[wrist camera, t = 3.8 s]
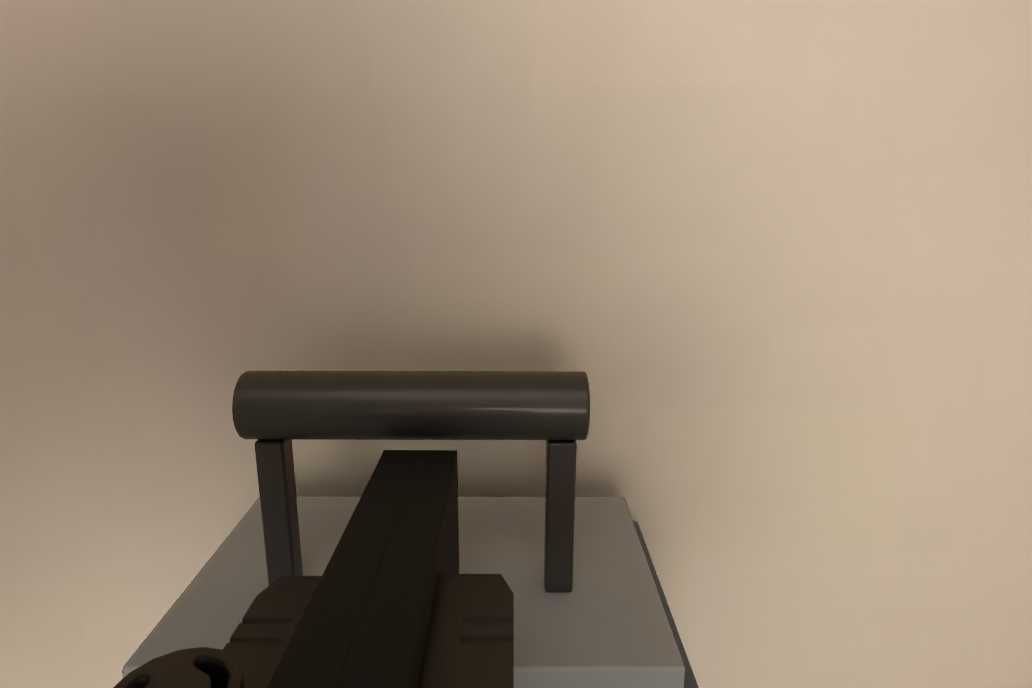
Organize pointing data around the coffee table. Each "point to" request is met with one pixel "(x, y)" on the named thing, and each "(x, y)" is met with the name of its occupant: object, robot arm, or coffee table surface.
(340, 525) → the drawer
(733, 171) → the coffee table surface
